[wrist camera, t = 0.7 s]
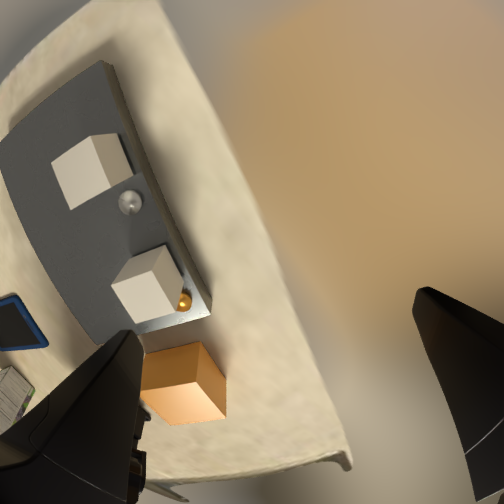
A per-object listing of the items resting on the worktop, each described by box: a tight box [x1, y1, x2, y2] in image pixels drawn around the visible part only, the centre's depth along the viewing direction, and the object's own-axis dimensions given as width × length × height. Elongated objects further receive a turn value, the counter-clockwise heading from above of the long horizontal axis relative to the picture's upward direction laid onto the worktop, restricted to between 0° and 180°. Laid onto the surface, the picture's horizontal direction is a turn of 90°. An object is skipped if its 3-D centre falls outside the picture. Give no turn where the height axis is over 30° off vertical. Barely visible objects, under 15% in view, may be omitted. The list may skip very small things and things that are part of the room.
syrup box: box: [0, 366, 35, 435], centre depth 21 cm, size 6×6×14 cm
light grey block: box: [111, 245, 184, 324], centre depth 17 cm, size 3×3×4 cm
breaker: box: [51, 133, 134, 210], centre depth 13 cm, size 3×3×4 cm
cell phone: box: [0, 295, 49, 351], centre depth 23 cm, size 7×14×1 cm, turn 105°
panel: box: [0, 60, 212, 345], centre depth 18 cm, size 12×20×2 cm, turn 19°
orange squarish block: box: [140, 341, 226, 425], centre depth 24 cm, size 6×6×5 cm
